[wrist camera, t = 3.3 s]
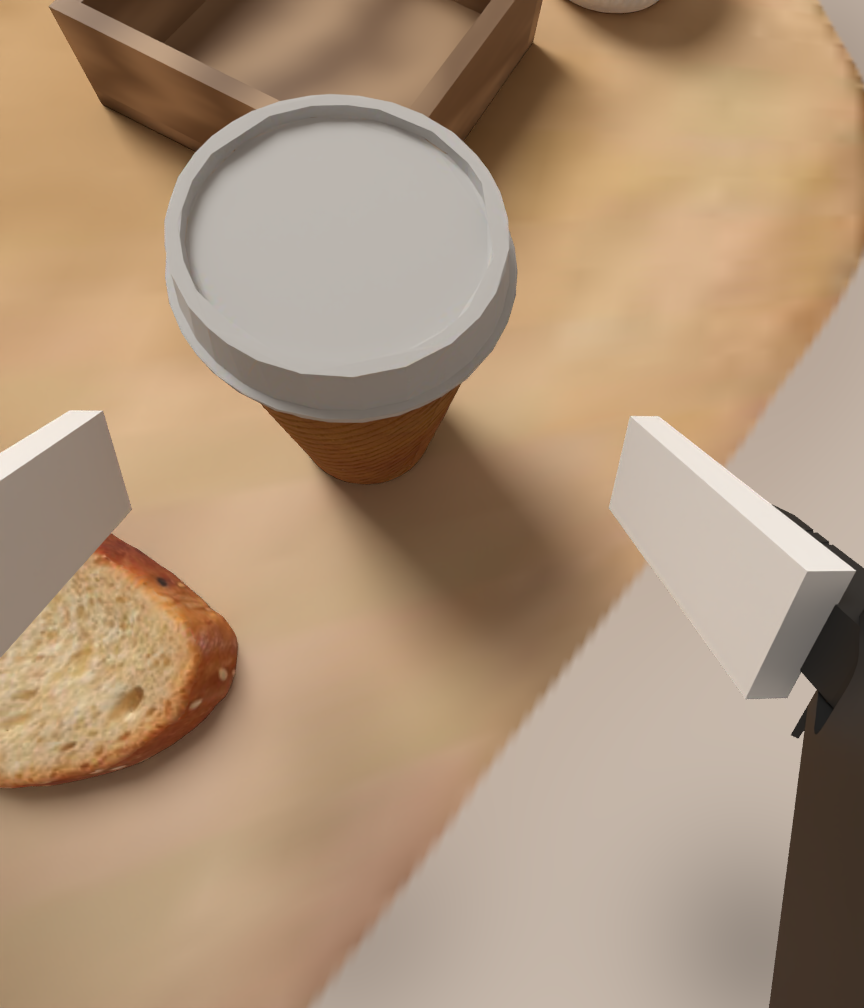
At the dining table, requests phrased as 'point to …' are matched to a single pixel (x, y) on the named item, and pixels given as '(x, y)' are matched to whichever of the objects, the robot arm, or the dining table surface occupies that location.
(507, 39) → the open wooden box
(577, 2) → the ramekin
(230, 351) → the disposable coffee cup
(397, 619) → the dining table surface
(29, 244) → the dining table surface
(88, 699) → the bread slice
